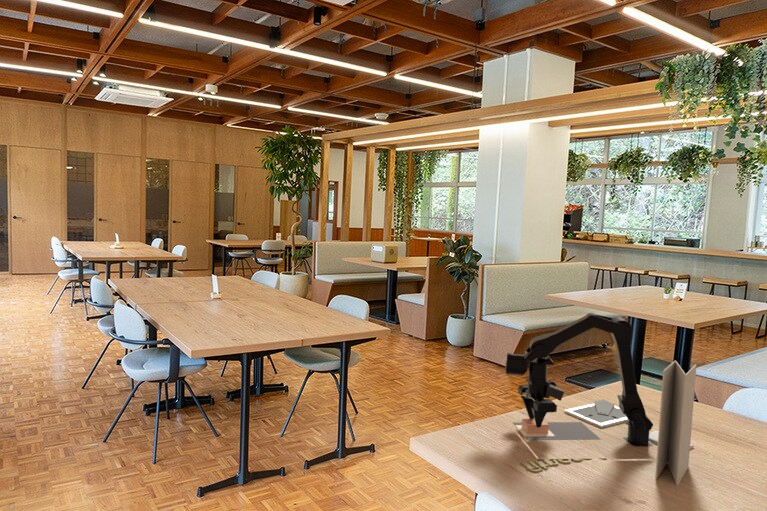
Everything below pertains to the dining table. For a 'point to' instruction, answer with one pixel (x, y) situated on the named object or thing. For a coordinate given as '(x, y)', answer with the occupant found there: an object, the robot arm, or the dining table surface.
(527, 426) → the card deck
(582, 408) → the picture frame
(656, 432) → the hard drive
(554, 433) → the mat
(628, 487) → the dining table surface
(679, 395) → the brochure
